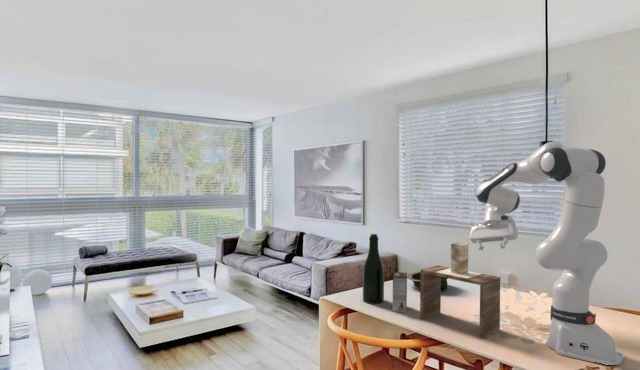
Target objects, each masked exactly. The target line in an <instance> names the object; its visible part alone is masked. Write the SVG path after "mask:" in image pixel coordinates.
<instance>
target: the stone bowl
mask: <svg viewBox="0 0 640 370" xmlns="http://www.w3.org/2000/svg"><path fill="white" fill-rule="evenodd" d="M420 274H421V270H418V271H414V272H411V273H407V280H409V281H411V282H412V283H413V285H414V287H415V288H419V289H420ZM448 279H449V278H444V277H441V291H446V290H447V288H448Z"/></svg>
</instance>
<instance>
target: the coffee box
mask: <svg viewBox="0 0 640 370" xmlns="http://www.w3.org/2000/svg"><path fill="white" fill-rule="evenodd" d="M407 275H408V273H407V272H396V271H393V273H392V312H396V311H399V313H406V312H407V307H408V306H407V305H408V304H407V299H408V297H407V296H408V289H407V288H408V279H407Z"/></svg>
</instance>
